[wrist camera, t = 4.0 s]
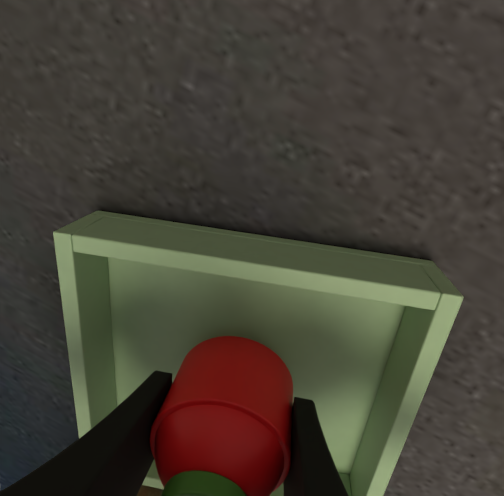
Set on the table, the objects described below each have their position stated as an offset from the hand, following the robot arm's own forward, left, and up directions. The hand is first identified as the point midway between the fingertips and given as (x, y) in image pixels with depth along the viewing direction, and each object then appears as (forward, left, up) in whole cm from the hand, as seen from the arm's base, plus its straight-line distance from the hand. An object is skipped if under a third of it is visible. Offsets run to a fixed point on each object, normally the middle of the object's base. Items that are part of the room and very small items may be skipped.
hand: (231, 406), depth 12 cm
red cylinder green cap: (0, 0, -1) cm, 1 cm away
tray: (0, 0, -3) cm, 3 cm away
